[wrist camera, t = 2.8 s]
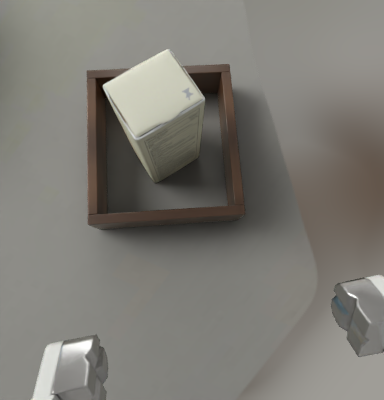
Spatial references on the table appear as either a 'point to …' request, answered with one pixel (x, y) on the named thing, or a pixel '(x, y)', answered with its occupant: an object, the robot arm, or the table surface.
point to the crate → (99, 218)
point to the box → (159, 113)
